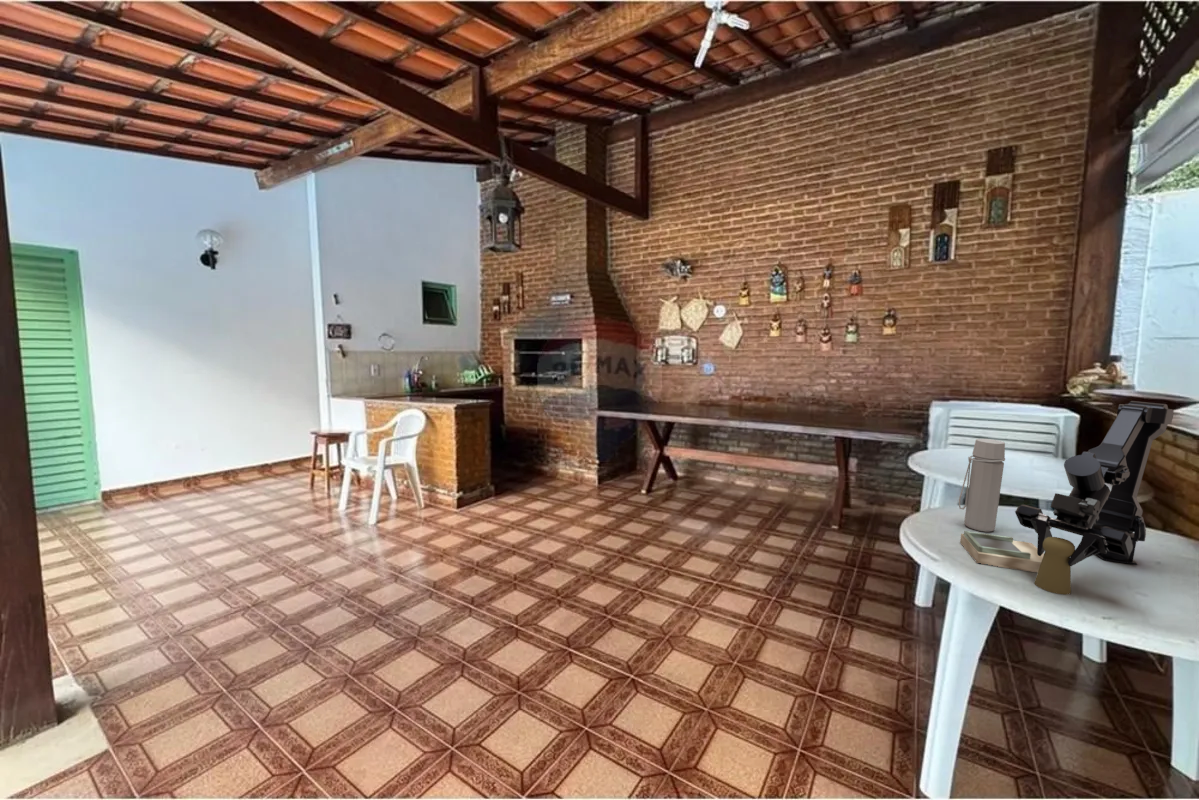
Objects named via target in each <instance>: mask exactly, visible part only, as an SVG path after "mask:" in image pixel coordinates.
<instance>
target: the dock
mask: <svg viewBox="0 0 1199 800" xmlns="http://www.w3.org/2000/svg"><path fill="white" fill-rule="evenodd" d="M959 544H961V545H963V546H964V547H963V546H962V547H963V548H964V549H965V550H966V552H967V551H968V552H969V553H968V555H970V557H973V558H974V559H975V560H976V561H975V560H974V559H973V558H972V559H973V560H974V561H975V563H976V564H977V563H981V564H980V565H984V564H988V565H987V566H991V565H993V566H992V567H997V566H998V567H999V568H1005V569H1011V570H1018V571H1024V572H1025V571H1026V572H1032V573H1038V570H1039V568H1040V565H1041V562H1042V559H1043V556H1044V553H1045V552H1044V553H1043V554H1042V555H1041V556H1038V554H1037V545H1034V543H1032V542H1027V541H1019V540H1014V537H1012V536H1005V535H997V534H992V533H991V534H989V533H983V532H975V531H967V530H964V532H963V533H961V534H960V540H959Z"/></svg>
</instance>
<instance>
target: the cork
mask: <svg viewBox="0 0 1199 800" xmlns="http://www.w3.org/2000/svg"><path fill="white" fill-rule="evenodd" d="M1043 548H1044V550H1045V551H1044V556H1043V559H1042V562H1041V565H1040V568H1039V570H1038V573H1037V572H1036V573H1037V574H1036V577H1035V580H1034V583H1033V584H1034V585H1035V586H1036V587H1037V588H1040V589H1041V590H1044V591H1046V592H1050V593H1052V594H1058V595H1062V596H1064V595H1065V596H1066V595H1071V593H1072V582H1071V579H1072V578H1071V576H1072V575H1071V571H1072V570H1071V567H1072V566H1069V565H1068V562H1069V560H1070V557H1071V556H1072V554H1073V553H1074V551H1075V550H1076V545H1075V544H1074V543H1073V542H1072V541H1070V540H1068V539H1065V538H1062V537H1058V536H1052V537H1047V538H1046V539H1045V540H1044V541H1043Z"/></svg>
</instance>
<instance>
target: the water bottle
mask: <svg viewBox="0 0 1199 800" xmlns="http://www.w3.org/2000/svg"><path fill="white" fill-rule="evenodd" d="M1005 447H1006V443H1005V442H1004V441H1002V440H997V439H993V438H991V439H990V438H975V442H974V446H973V450H972V455H969V456H968V457H967V459H968V463H967V464H968V465H967V468H966V473H965V476H964V479H963V483H962V487H961V491H960V494H959V498H958V508H959V510H965V513H964V514H965V515H964V521H963V522H964V525H965V526H967V528H969V529H972V530H974V531H978V532H982V533H983V532H985V533H988V532H989V533H991V532H993V531H995V529H996V525H997V524H996V523H997V518H998V517H997V516H998V509H999V502H1000V496H1001V490H1002V489H1001V488H1002V480H1003V475H1004V474H1003V473H1004V467H1005V463H1004V462H1006V458H1005V454H1006V452H1005V450H1006V448H1005ZM966 480H967V482H966ZM966 483H967V485H966V492H965V501H964V506H962V507H961V499H962V496H963V492H964V488H965V484H966Z"/></svg>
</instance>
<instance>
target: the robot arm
mask: <svg viewBox="0 0 1199 800" xmlns="http://www.w3.org/2000/svg"><path fill="white" fill-rule="evenodd" d="M1173 418H1174V409H1170V408H1169V407H1168V404H1166V403H1157V402H1156V403H1155V402H1146V401H1138V400H1137V401H1135V400H1131V401H1129V402H1128V403H1125V404H1123V403H1122V404H1121V403H1120V404H1118V408H1117V412H1116V417H1115V419H1114V420H1113V423H1112V424H1111V426H1110V427H1109V429H1108V431H1107V432H1106V435H1105V436H1104V438H1103V440H1102V441H1101V443H1100V444H1099V445H1098V446H1096V447H1093V448H1090V449H1088V451H1082V452H1081V454H1078V455H1074V456H1071V457H1069V458H1067V459H1065V461H1064V463H1063V466H1064V470H1065V471H1064V472H1065V474H1066V477H1067V480H1068V484H1069V485H1070V486H1071V487H1072V489H1071V491H1070V493H1069V494H1068V495H1065V494H1060V493H1056V492H1055V493H1054V496H1053V499H1052V501H1051V504H1050V508H1052V509H1054V510H1053V511H1052V512H1053V513H1052V514H1053V515H1054V517H1055V516H1056V518H1053V517H1050V516H1049V515H1048V514H1044V513H1043V510H1042V508H1039V507H1035V506H1031V505H1026V504H1020V505H1019V506H1017V508H1016V509H1015V511H1014V512H1015V515H1016V517H1017V520H1018V522H1019V525H1021V526H1022V527H1025V528H1026V529H1027V528H1028V529H1031V530H1034V531H1035V533H1036V534H1037V545H1036V547H1037V554H1038V556H1041V555H1042V554H1043V553H1045V550H1044V548H1043V541H1044V540H1045V539H1046V538H1047V537H1053V534H1052V532H1051V531H1052V528H1054V529H1057V530H1061V531H1064V532H1068V533H1071V534H1073V535H1074V534H1075V535H1078V536H1081V540H1080V542H1079V544H1078V545H1077V547H1075V551H1074V553H1073V554H1072V556H1071V557H1070V560H1069V562H1068V565H1069V566H1070V567H1073V566H1075V565H1076V564H1078V563H1080V562H1082V561H1083V560H1086V559H1087V558H1089V557H1092V556H1095V555H1096V556H1098V558H1100V559H1102V560H1103V561H1106V562H1107V561H1109V562H1115V563H1121V564H1130V565H1138V562H1137V561H1135V560H1134V556H1135V551H1136V546H1137V542H1145V541H1146V537H1147V528H1146V523H1145V520H1144V517H1143V513H1144V512H1143V508H1142V507H1141V505H1140V503H1139V501H1138V498H1137V496H1138V494H1139V489H1140V486H1141V483H1142V480H1143V476H1144V472H1145V470H1146V469H1145V468H1146V466H1147V463H1148V462H1147V461H1148V459H1149V458H1148V457H1149V454H1150V452H1151V447H1152V445H1153V441H1155V440H1156V439H1157V438H1159V437H1160V436H1161V435H1163V434H1164V433H1165V432H1166V429H1167V427H1168V425H1171V423H1172V421H1173ZM1108 485H1111V488H1110V487H1109V486H1108Z"/></svg>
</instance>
